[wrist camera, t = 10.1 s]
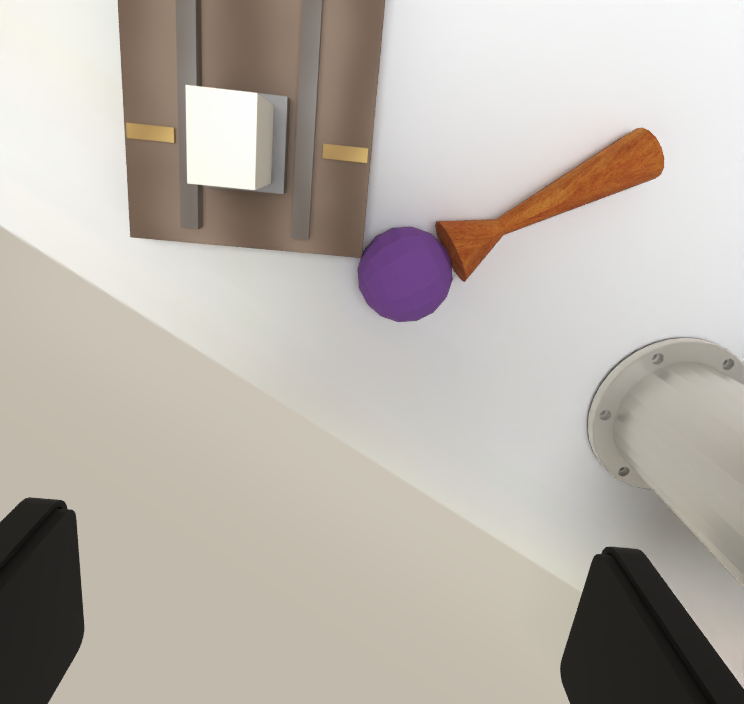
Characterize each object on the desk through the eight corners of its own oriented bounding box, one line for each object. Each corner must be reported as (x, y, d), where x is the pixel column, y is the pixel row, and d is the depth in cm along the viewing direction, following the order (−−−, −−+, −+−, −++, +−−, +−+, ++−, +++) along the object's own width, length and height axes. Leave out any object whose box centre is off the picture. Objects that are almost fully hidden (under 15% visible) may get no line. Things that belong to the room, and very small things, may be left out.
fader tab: (290, 99, 30) (274, 81, 23) (286, 192, 32) (270, 203, 24) (210, 90, 30) (168, 69, 22) (210, 184, 31) (171, 193, 24)
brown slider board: (396, -159, 29) (405, -208, 25) (359, 249, 36) (362, 261, 32) (128, -201, 28) (94, -260, 24) (147, 230, 35) (122, 239, 31)
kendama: (684, 206, 33) (391, 352, 33) (624, 187, 38) (372, 314, 38) (673, 109, 30) (351, 272, 30) (610, 103, 35) (336, 242, 35)
